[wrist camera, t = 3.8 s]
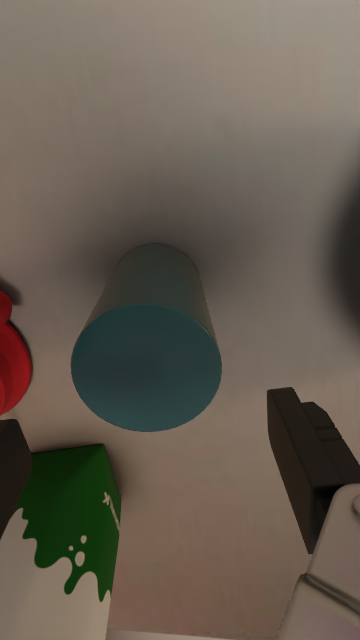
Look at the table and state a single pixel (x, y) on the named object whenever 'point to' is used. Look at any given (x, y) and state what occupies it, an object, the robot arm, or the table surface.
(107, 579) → the milk carton
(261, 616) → the table surface
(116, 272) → the can
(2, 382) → the alarm clock
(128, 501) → the table surface
